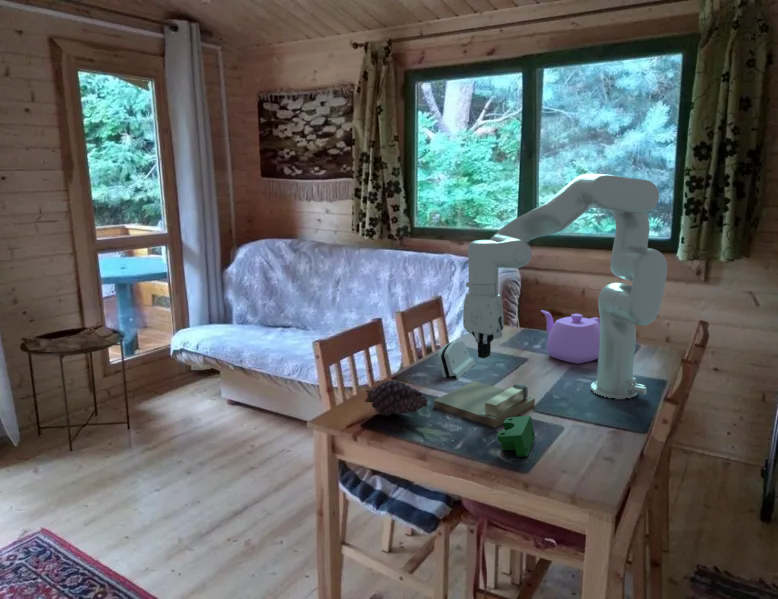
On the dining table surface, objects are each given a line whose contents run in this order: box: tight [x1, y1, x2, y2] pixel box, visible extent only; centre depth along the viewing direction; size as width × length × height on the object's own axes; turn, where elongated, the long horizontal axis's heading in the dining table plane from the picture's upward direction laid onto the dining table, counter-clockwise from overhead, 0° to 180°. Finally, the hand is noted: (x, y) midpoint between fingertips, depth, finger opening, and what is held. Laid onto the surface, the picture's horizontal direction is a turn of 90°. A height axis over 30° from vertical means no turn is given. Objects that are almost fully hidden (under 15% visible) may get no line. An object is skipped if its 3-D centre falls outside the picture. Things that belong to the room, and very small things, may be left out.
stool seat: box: [433, 380, 536, 429], centre depth 161 cm, size 20×19×2 cm
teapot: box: [540, 309, 600, 365], centre depth 201 cm, size 23×21×15 cm
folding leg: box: [485, 383, 529, 417], centre depth 155 cm, size 17×4×3 cm, turn 139°
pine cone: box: [364, 379, 428, 418], centre depth 154 cm, size 18×10×10 cm, turn 68°
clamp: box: [496, 415, 536, 458], centre depth 137 cm, size 12×6×9 cm, turn 151°
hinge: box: [437, 340, 476, 380], centre depth 189 cm, size 17×5×10 cm, turn 152°
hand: (484, 356), depth 155 cm, fingers closed
